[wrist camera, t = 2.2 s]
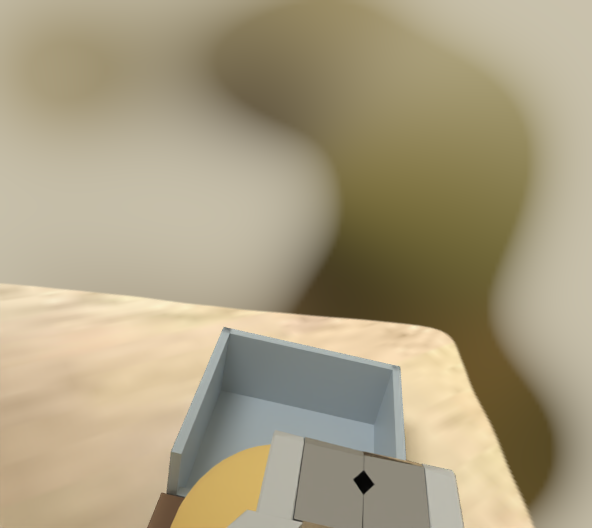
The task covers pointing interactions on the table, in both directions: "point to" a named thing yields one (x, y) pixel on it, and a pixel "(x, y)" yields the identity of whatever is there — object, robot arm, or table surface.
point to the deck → (165, 511)
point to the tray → (285, 403)
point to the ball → (225, 491)
